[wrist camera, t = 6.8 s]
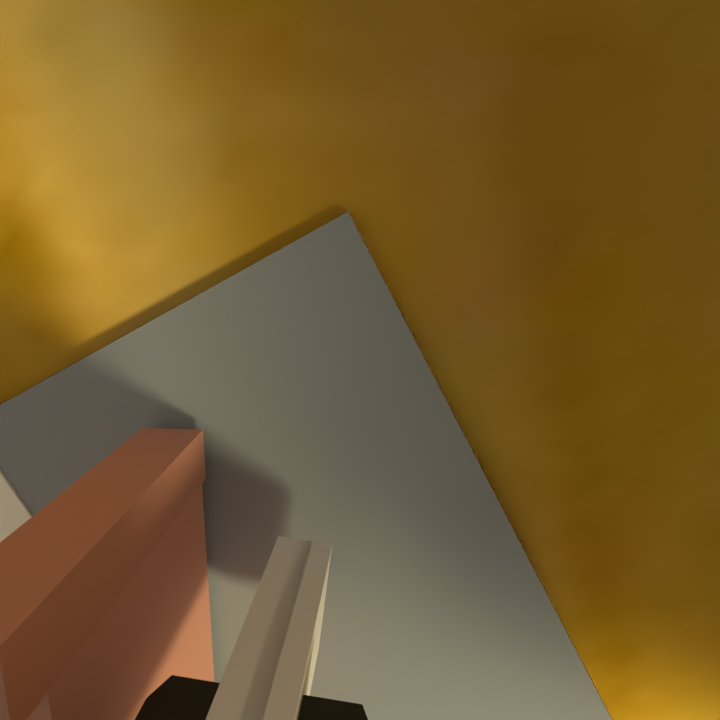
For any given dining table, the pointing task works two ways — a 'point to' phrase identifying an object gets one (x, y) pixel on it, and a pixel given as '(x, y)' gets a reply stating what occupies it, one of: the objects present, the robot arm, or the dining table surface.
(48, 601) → the terracotta wall panel
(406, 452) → the board
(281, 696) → the robot arm
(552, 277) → the dining table surface
